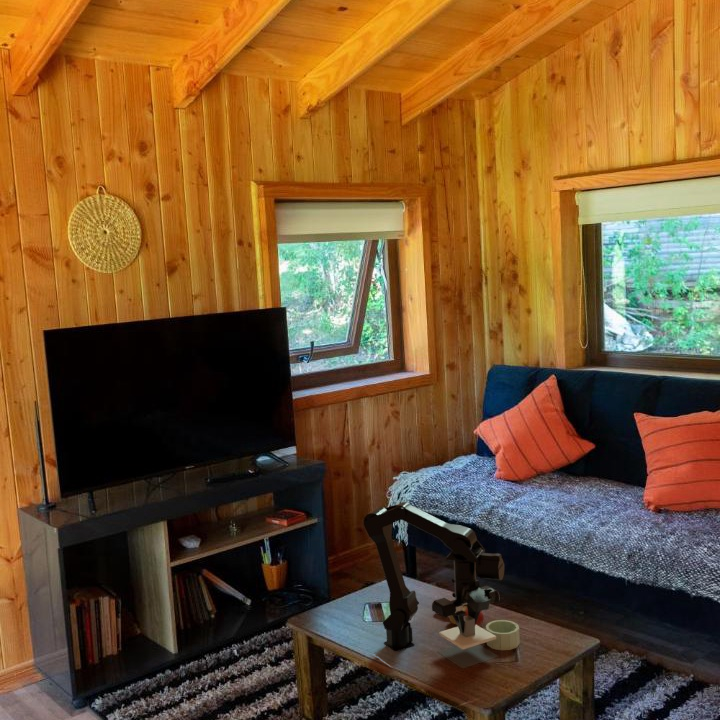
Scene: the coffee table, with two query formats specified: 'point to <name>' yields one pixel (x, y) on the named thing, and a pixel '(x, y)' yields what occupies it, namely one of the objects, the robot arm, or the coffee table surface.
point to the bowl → (503, 634)
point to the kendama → (480, 617)
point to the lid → (467, 634)
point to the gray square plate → (467, 655)
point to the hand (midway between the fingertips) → (467, 631)
